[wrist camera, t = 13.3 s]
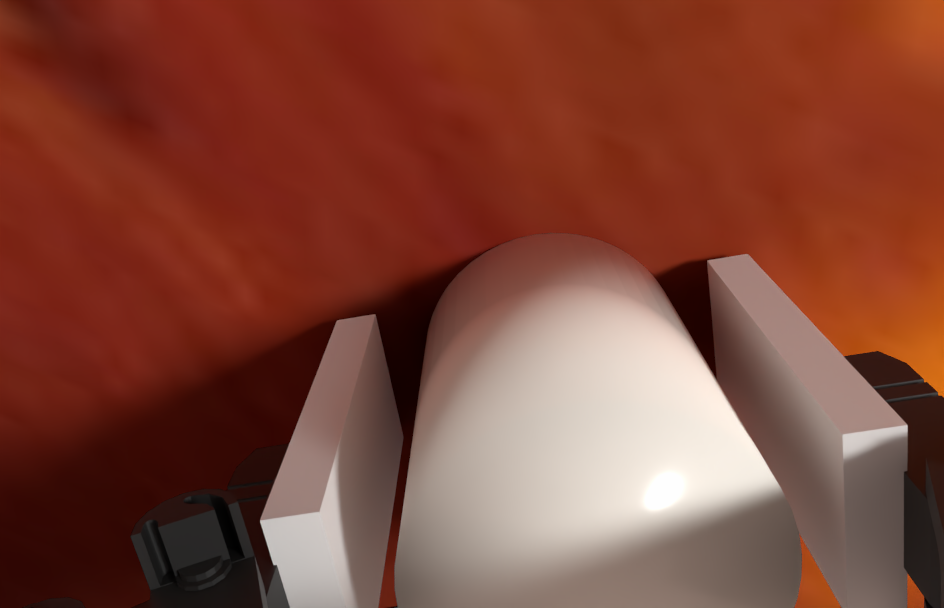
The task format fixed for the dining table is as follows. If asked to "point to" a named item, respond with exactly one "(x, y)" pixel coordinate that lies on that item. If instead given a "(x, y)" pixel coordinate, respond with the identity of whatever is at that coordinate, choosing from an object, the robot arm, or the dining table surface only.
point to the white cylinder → (581, 449)
